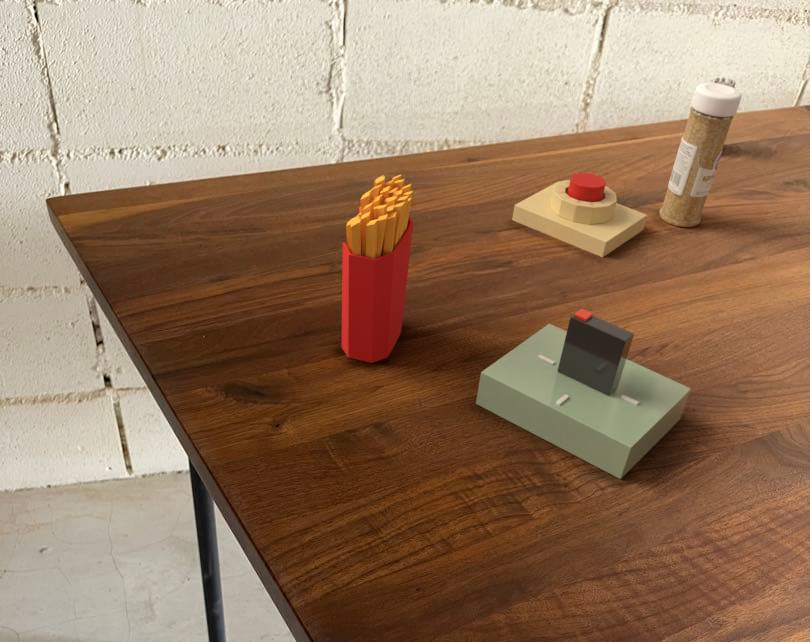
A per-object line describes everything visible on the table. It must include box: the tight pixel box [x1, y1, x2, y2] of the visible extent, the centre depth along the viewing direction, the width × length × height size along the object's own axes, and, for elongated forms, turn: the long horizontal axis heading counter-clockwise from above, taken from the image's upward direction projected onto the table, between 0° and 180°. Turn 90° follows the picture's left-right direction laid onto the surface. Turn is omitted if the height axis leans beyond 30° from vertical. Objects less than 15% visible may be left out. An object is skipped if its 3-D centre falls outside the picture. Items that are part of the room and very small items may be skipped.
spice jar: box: [658, 82, 742, 228], centre depth 92 cm, size 5×5×13 cm
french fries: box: [341, 173, 414, 364], centre depth 70 cm, size 9×4×13 cm, turn 165°
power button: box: [567, 172, 607, 202], centre depth 91 cm, size 4×4×2 cm
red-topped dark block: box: [557, 308, 635, 395], centre depth 66 cm, size 5×1×5 cm, turn 52°
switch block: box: [511, 179, 648, 258], centre depth 93 cm, size 11×9×4 cm
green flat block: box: [475, 323, 692, 480], centre depth 69 cm, size 13×10×3 cm
